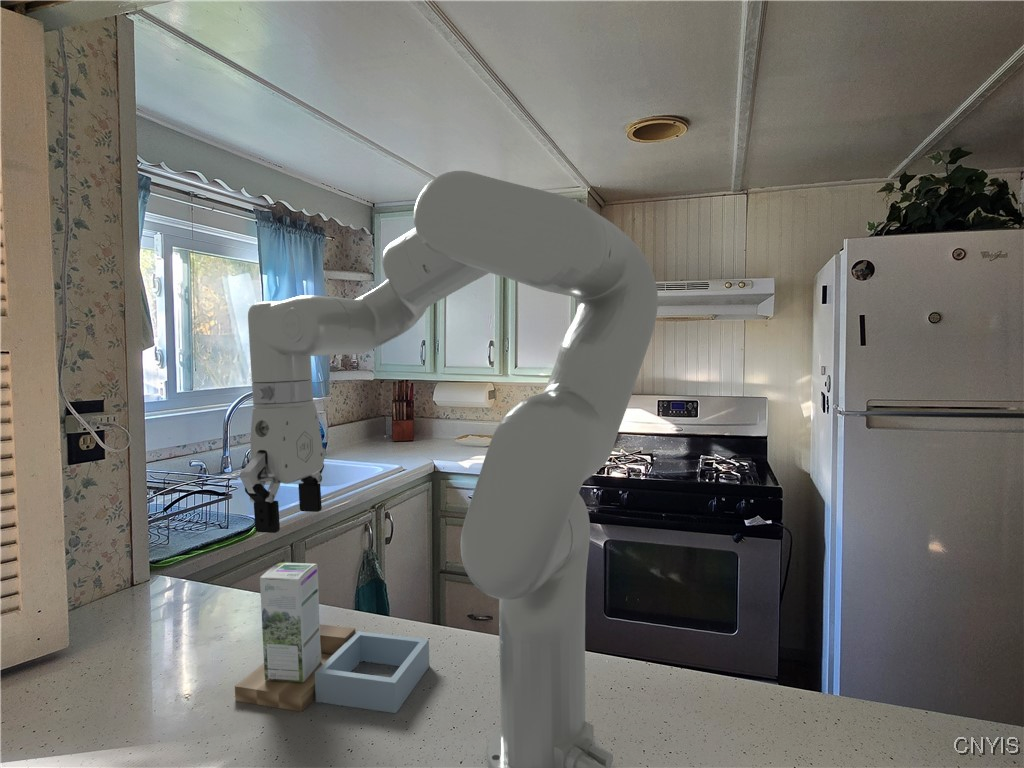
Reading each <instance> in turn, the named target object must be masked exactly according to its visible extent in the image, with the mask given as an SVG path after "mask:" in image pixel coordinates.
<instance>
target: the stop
mask: <svg viewBox="0 0 1024 768" xmlns="http://www.w3.org/2000/svg"><path fill="white" fill-rule="evenodd" d="M319 624H320V623H319ZM355 633H356V628H355V627H345V626H338V625H328V624H320V645H321V654H327V655H333V654H334V653H335V652H336V651H337V650H338V649H339V648H341V647H342V646H343V645H344V644H345V643H346V642H347V641H348V640H349V639H350V638H351V637H352V636H353V635H354V634H355Z"/></svg>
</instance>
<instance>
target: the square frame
mask: <svg viewBox="0 0 1024 768" xmlns="http://www.w3.org/2000/svg"><path fill="white" fill-rule="evenodd" d="M363 661H365V663H371V662H372V664H380V665H387V666H388V665H389V666H394V667H395V666H396V667H398V669H397V670H396V671H395V672H394V673H393V674H392V676H391V677H390V676H389V677H388V676H382V675H375V674H374V675H373V674H366V673H359V672H353V671H354V670H355V668H356V667H358V665H359V664H360V663H361V662H363ZM359 662H360V663H359ZM357 664H358V665H357ZM429 667H430V639H429V638H423V637H422V638H420V637H411V636H404V635H403V636H402V635H396V634H395V635H394V634H393V635H392V634H385V633H376V632H375V633H374V632H370V631H369V632H368V631H358V630H357V631H355V634H354V635H353V636H352V637H351V638H350V639H349V640H348V641H347V642H346V643H345V644H344V645H343V646H342V647H341V648H339V649H338V650H337V651H336V652H335V653H334V654H333V655H332V656H331V657H330V658H329V659H328V660H327V661H326V662H325V663H324V664H323V665H322V666H321V667H320V668H319V669H318V670H317V671H315V693H316V698H315V702H316V703H322V702H323V703H324V704H328V705H329V704H330V705H334V706H335V705H337V706H342V705H343V706H344V707H348V708H349V707H350V708H355V709H356V708H357V709H364V710H371V711H376V712H377V711H378V712H384V713H391V714H397V713H398V711H399V710H400V708H401V707H402V705H403V704H404V702H405V701H406V700H407V699H408V697H409V696H410V695H411V693H412V691H413V690H414V689H415V687H416V686H417V685H418V683H419V682H420V680H421V678H422V677H423V675H424V674H425V672H427V671H428V669H429ZM352 670H353V671H352ZM351 671H352V672H351ZM323 703H322V704H323Z"/></svg>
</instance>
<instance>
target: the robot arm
mask: <svg viewBox="0 0 1024 768" xmlns="http://www.w3.org/2000/svg"><path fill="white" fill-rule="evenodd" d="M413 224H414V228H412V229H411V230H408V231H407V232H406V233H404V234H402V235H401V236H399V237H398V238H396V239H395V240H393V241H391V242H390V243H388V244H387V246H386V247H385V249H384V250H383V254H382V261H381V262H382V268H383V272H384V275H385V278H386V280H385V281H384V282H383V283H381V284H380V285H379V286H376V288H374V289H372V290H370V291H369V292H367V293H365V294H363V295H360V296H359V297H357V298H344V297H335V296H322V295H310V294H309V295H305V294H304V295H299V296H295V297H291V298H288V299H285V300H282V301H281V300H279V301H278V300H277V301H276V300H275V301H272V300H271V301H261V302H260V301H259V302H256V303H253V304H252V305H251V306H250V308H249V309H248V312H247V324H248V325H247V326H248V340H249V344H248V345H249V358H250V359H249V360H250V374H251V387H252V390H251V391H252V403H253V404H252V407H253V408H252V414H251V424H250V425H251V427H250V462H248V463H247V464H246V466H245V467H244V468H243V469H242V470H241V472H240V473H239V478H240V480H241V482H242V484H243V487H244V492H245V493H246V495H248V497H249V501H250V503H253V511H254V512H253V513H254V527H255V528H254V529H255V532H256V533H267V534H268V533H270V534H276V533H278V532H279V531H280V529H281V526H280V522H281V521H280V511H279V510H280V508H279V500H275V499H276V497H277V494H278V490H279V489H280V486H281V484H285V485H287V484H292V483H294V482H297V481H301V482H300V483H298V484H297V485H298V501H299V505H298V506H299V511H301V512H309V513H310V512H317V513H319V512H320V511H322V510H323V508H322V507H323V506H322V492H321V491H322V490H321V483H322V482H323V475H322V473H323V471H324V469H325V464H324V462H325V459H326V458H325V456H326V452H327V451H326V449H325V448H324V447H323V441H322V433H321V425H320V420H319V415H318V411H317V407H316V404H315V402H314V395H313V380H312V379H313V376H312V375H313V373H312V357H321V356H323V357H324V356H333V355H335V356H336V355H346V356H347V355H359V354H364V353H368V352H370V351H373V350H375V349H377V348H379V347H381V346H383V345H385V344H387V343H388V342H390V341H392V340H394V339H397V338H398V337H399V336H401V335H403V334H405V333H406V332H407V331H409V330H410V329H412V328H413V327H414V326H415V325H416V324H417V322H418V321H419V320H420V319H421V318H422V317H423V315H424V314H425V313H426V311H427V308H429V307H431V306H433V305H434V304H436V303H438V302H440V301H441V300H443V299H444V298H446V297H448V296H450V295H451V294H453V293H455V292H457V291H459V290H461V289H463V288H464V287H466V286H468V285H470V284H471V283H473V282H476V281H477V280H479V279H481V278H483V277H485V276H486V275H488V274H491V275H492V274H493V275H495V276H499V277H502V278H506V279H509V280H512V281H515V282H517V283H520V284H522V285H526V286H530V287H532V288H535V289H537V290H538V289H539V290H542V291H545V292H549V293H553V294H560V295H564V296H568V297H573V298H574V299H575V300H576V303H577V305H576V313H575V315H574V318H573V320H572V322H571V323H570V326H569V327H568V329H567V331H566V332H565V335H564V336H563V339H562V341H561V344H560V347H559V350H558V353H557V357H556V360H555V364H554V365H553V369H552V371H551V374H550V376H549V379H548V381H547V384H546V386H545V388H544V390H542V391H543V392H542V393H539V394H534V395H532V396H529V397H527V398H525V399H523V400H521V401H519V402H518V403H516V404H515V405H513V407H511V408H510V409H509V410H508V411H507V413H505V415H504V416H503V417H502V419H501V421H499V423H498V425H497V427H496V429H495V430H494V432H493V434H492V436H491V440H490V442H489V445H488V448H487V450H486V453H485V457H484V460H483V462H482V466H481V469H480V471H479V475H478V478H477V481H476V485H475V488H474V490H473V493H472V496H471V500H470V502H469V505H468V508H467V512H466V513H465V517H464V522H463V525H462V530H461V535H460V536H461V537H460V555H461V559H462V561H461V562H462V565H463V568H464V570H465V573H466V574H467V576H468V578H469V579H470V581H471V582H472V583H473V585H474V586H475V587H476V588H477V589H478V590H479V591H481V592H482V593H483V594H485V595H486V596H489V597H491V598H494V599H498V601H499V602H498V604H499V605H498V606H499V607H498V618H499V619H498V620H499V621H498V625H499V627H498V629H499V630H498V631H499V632H498V633H499V635H498V636H499V685H500V687H499V689H500V691H499V692H500V693H499V696H500V704H499V705H500V726H499V727H498V728H497V729H495V731H494V732H493V733H492V734H491V737H490V738H489V740H488V744H487V748H486V751H487V752H486V755H487V756H486V757H487V765H488V767H489V768H610V767H611V766H612V763H613V760H614V756H613V753H611V752H609V751H607V750H605V749H603V748H600V746H599V743H598V741H597V737H595V735H594V731H595V730H594V727H595V726H594V725H593V724H591V723H589V722H588V721H586V587H587V586H586V584H587V571H588V570H587V569H588V559H589V551H590V541H591V539H590V538H591V522H590V515H589V514H590V513H589V512H588V511H589V510H588V507H587V505H586V503H585V501H584V498H583V497H582V496H581V495H580V491H581V489H582V486H583V484H584V482H585V481H587V480H588V479H589V478H591V477H592V476H593V475H594V474H596V473H597V472H598V471H600V469H601V468H602V467H603V466H605V464H606V463H607V462H608V460H609V459H610V457H611V455H612V452H613V450H614V447H615V445H616V444H615V443H616V440H617V438H618V437H617V436H618V433H619V431H620V427H621V425H622V422H623V419H624V417H625V414H626V412H627V409H628V405H629V402H630V400H631V397H632V396H633V395H632V394H633V392H634V390H635V389H634V388H635V386H636V383H637V379H638V376H639V374H640V371H641V368H642V365H643V362H644V360H645V357H646V354H647V351H648V348H649V345H650V342H651V340H652V337H653V332H654V330H655V327H656V321H657V315H658V308H659V306H658V305H659V304H658V303H659V301H658V299H659V296H658V287H657V282H656V278H655V274H654V272H653V268H652V266H651V264H650V262H649V261H648V259H647V258H646V256H645V254H644V252H642V250H641V249H640V248H639V247H638V245H637V244H636V243H635V242H634V240H632V239H631V237H629V236H628V235H627V234H626V233H625V232H624V231H622V230H621V229H620V228H619V227H618V226H616V225H615V224H614V223H613V222H611V221H610V220H608V219H607V218H605V217H604V216H602V215H600V214H599V213H597V212H596V211H594V210H593V209H592V208H590V207H588V206H587V204H583V203H582V202H580V201H578V200H575V199H573V198H570V197H568V196H564V195H562V194H558V193H555V192H550V191H546V190H543V189H542V190H541V189H538V188H533V187H530V186H525V185H521V184H519V183H514V182H510V181H505V180H502V179H498V178H495V177H491V176H487V175H484V174H479V173H476V172H472V171H468V170H452V171H448V172H445V173H442V174H440V175H438V176H437V177H435V178H433V179H431V180H430V181H429V182H428V183H427V184H426V185H425V186H424V187H423V189H422V190H421V191H420V193H419V195H418V196H417V199H416V202H415V205H414V209H413ZM265 486H268V489H266V487H265Z"/></svg>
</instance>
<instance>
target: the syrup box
mask: <svg viewBox="0 0 1024 768" xmlns="http://www.w3.org/2000/svg"><path fill="white" fill-rule="evenodd" d="M318 567H319V566H318V563H309V562H307V563H305V562H300V563H299V562H279V563H277V564H275V565H273V566H272V567H270V568H269V569H267V570H266V571H265V572H264V573H263V574H262V575H261V576H260V577H259V588H260V589H259V590H260V605H261V606H260V607H261V608H260V609H261V628H262V629H261V630H262V632H261V633H262V648H263V650H262V651H263V663H264V674H265V680H270V681H286V682H304V681H305V680H306V679H307V678H308V677H309V676H310V675H311V673H312V672H313V671H314V670H315V669H316V667H317V666H318V665H319V664H320V662H321V645H320V601H319V599H320V597H319V591H320V590H319V589H320V588H319V571H318V570H319V568H318Z"/></svg>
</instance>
